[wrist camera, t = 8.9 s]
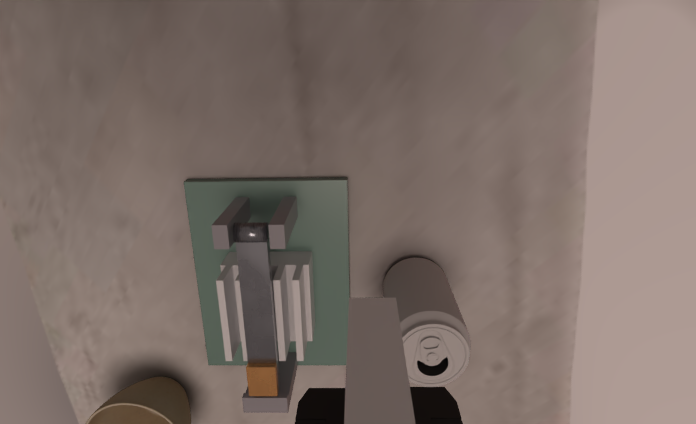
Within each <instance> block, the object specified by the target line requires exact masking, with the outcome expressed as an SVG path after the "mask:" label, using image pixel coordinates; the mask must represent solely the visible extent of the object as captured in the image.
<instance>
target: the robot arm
mask: <svg viewBox="0 0 696 424" xmlns="http://www.w3.org/2000/svg"><path fill="white" fill-rule="evenodd" d="M295 424H463V423H462V421H461V416H460V412H459V409H458V405H457V402H456V400H455V399H454V398H453V397H452V395H451V394H450V393H449V392H448V391H447V390H446V388H445V387H410V385H409V378H408V372H407V366H406V359H405V353H404V346H403V340H402V333H401V327H400V321H399V314H398V308H397V301H396V298H349V311H348V337H347V362H346V387H345V388H309V389H308V390H307V391H306V393H305V394H304V396H303V397H302V398H301V400H300V401H299V403H298V408H297V414H296V422H295Z"/></svg>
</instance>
